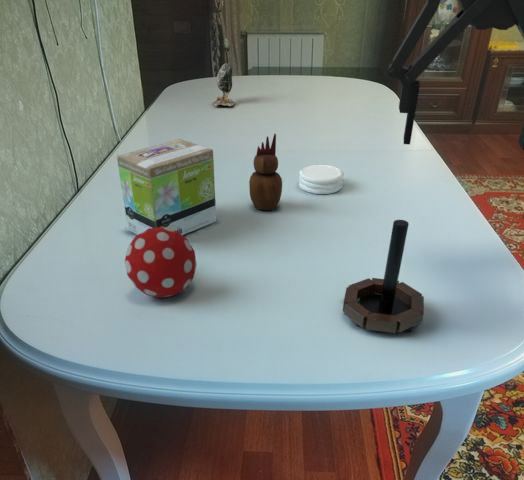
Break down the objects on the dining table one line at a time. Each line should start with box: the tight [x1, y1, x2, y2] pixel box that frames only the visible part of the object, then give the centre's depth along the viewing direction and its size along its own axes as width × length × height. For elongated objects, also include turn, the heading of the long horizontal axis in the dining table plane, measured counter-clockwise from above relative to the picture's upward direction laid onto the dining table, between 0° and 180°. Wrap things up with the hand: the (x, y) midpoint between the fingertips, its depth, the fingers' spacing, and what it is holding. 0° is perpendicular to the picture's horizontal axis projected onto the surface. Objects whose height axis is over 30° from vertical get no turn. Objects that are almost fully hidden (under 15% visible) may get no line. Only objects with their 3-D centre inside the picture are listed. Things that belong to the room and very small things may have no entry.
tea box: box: [116, 138, 217, 236], centre depth 96 cm, size 15×10×15 cm
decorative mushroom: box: [124, 227, 197, 299], centre depth 82 cm, size 11×11×15 cm
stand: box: [355, 219, 414, 333], centre depth 73 cm, size 8×8×15 cm
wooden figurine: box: [248, 133, 283, 211], centre depth 103 cm, size 7×6×15 cm
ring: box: [342, 277, 425, 334], centre depth 76 cm, size 12×12×2 cm
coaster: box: [298, 164, 344, 195], centre depth 116 cm, size 10×10×4 cm
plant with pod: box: [212, 37, 236, 107], centre depth 169 cm, size 8×11×20 cm
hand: (463, 144), depth 62 cm, fingers open, 13 cm apart
